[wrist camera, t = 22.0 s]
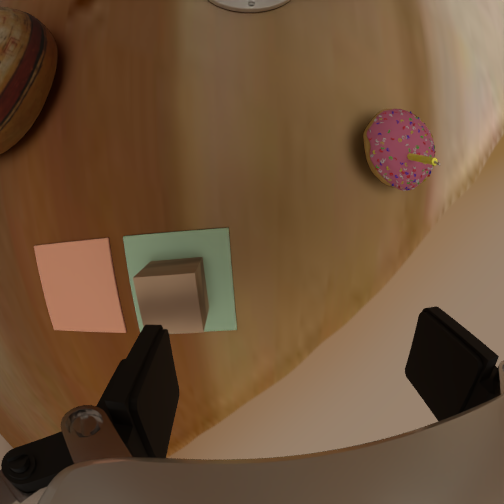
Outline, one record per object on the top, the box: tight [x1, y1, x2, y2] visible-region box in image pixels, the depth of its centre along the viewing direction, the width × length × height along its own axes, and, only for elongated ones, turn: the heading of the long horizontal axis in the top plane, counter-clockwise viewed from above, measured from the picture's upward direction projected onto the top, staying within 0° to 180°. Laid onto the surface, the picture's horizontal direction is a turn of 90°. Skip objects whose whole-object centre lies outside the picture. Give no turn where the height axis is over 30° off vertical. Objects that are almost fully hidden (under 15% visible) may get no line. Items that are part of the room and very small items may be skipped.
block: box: [133, 257, 209, 334], centre depth 30 cm, size 6×6×6 cm
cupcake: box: [363, 109, 440, 191], centre depth 25 cm, size 9×8×12 cm
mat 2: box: [123, 228, 237, 333], centre depth 33 cm, size 12×12×1 cm
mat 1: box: [34, 238, 127, 333], centre depth 32 cm, size 12×12×1 cm
